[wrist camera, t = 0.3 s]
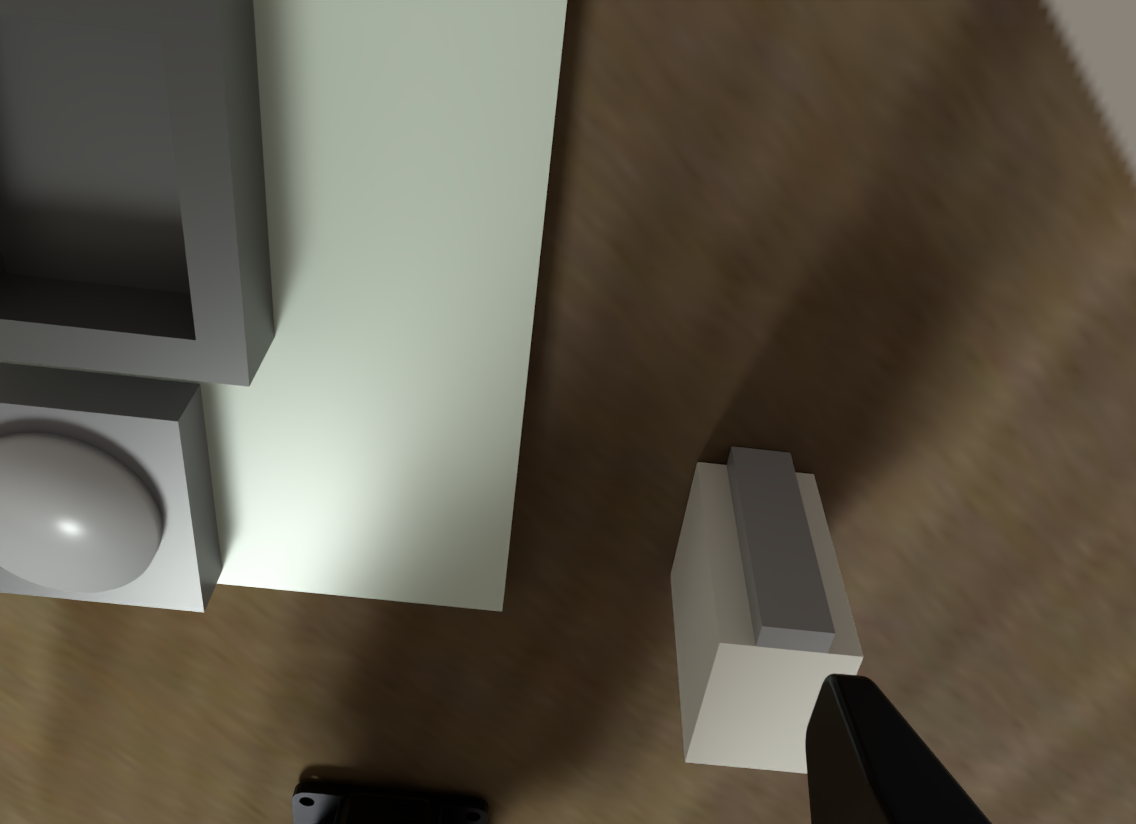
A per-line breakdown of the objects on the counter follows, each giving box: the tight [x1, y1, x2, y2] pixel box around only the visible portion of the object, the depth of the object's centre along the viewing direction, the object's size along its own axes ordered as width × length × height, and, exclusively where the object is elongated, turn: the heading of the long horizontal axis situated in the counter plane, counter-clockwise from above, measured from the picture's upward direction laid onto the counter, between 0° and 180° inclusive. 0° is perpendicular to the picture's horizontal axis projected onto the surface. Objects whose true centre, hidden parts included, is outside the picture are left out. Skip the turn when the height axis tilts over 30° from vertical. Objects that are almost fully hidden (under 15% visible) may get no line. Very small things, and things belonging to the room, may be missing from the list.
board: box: [0, 0, 567, 612], centre depth 22 cm, size 18×14×3 cm
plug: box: [670, 446, 863, 773], centre depth 24 cm, size 5×3×6 cm, turn 174°
